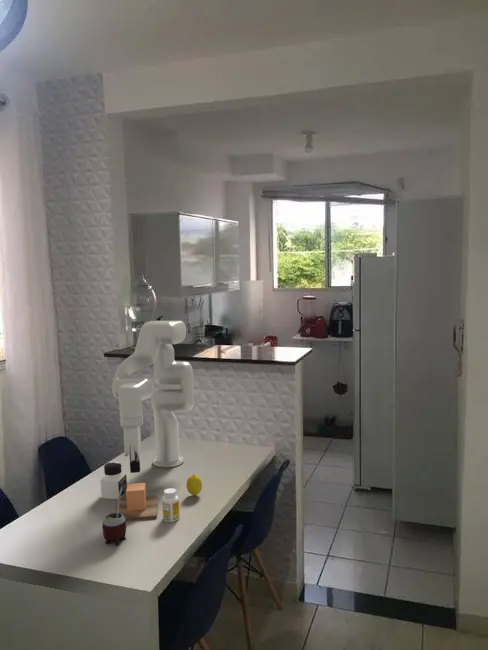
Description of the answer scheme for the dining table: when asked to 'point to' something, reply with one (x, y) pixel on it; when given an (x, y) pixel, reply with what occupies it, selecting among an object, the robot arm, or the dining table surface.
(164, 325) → the robot arm
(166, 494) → the supplement bottle
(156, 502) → the base board
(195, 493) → the lemon
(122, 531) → the mate gourd
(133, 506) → the tan wooden cube
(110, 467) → the medicine bottle
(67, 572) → the dining table surface
